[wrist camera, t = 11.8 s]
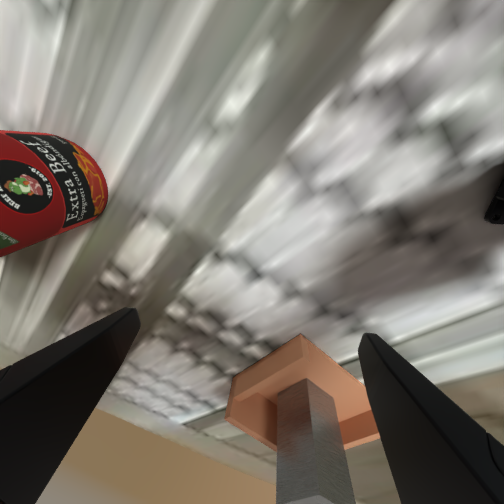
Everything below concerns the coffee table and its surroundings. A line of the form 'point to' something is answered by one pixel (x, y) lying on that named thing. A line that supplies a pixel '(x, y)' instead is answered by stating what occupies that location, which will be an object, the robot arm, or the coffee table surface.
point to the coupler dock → (287, 374)
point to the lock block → (310, 448)
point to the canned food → (45, 188)
